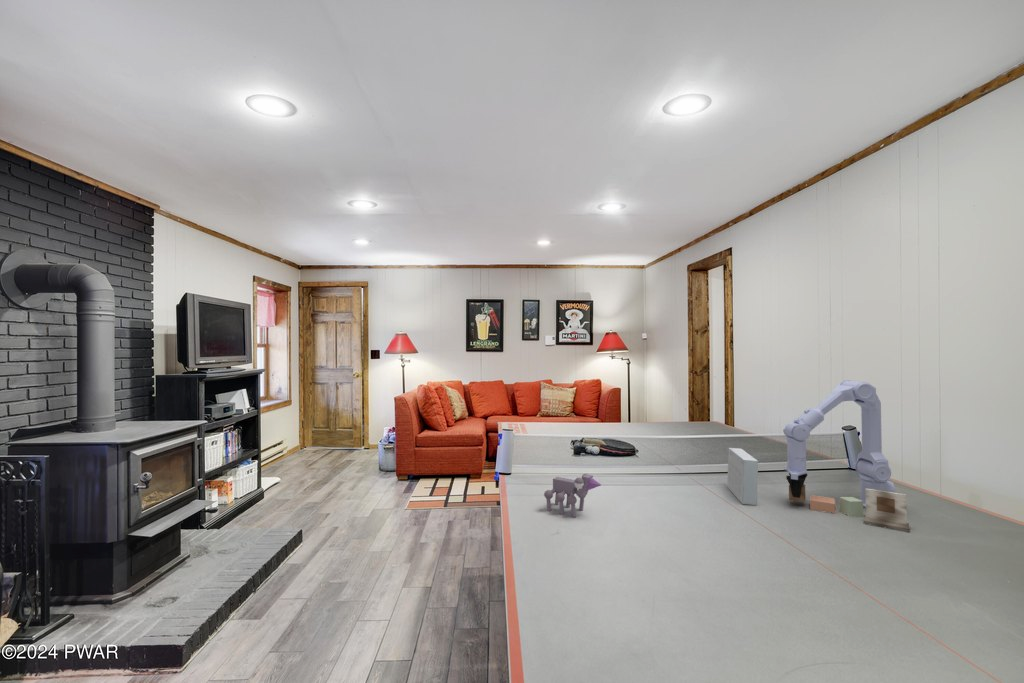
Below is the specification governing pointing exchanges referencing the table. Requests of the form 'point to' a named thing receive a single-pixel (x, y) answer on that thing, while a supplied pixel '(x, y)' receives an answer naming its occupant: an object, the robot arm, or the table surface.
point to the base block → (822, 503)
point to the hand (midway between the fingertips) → (797, 495)
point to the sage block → (851, 506)
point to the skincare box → (742, 476)
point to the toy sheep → (570, 492)
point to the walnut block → (802, 496)
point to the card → (886, 510)
